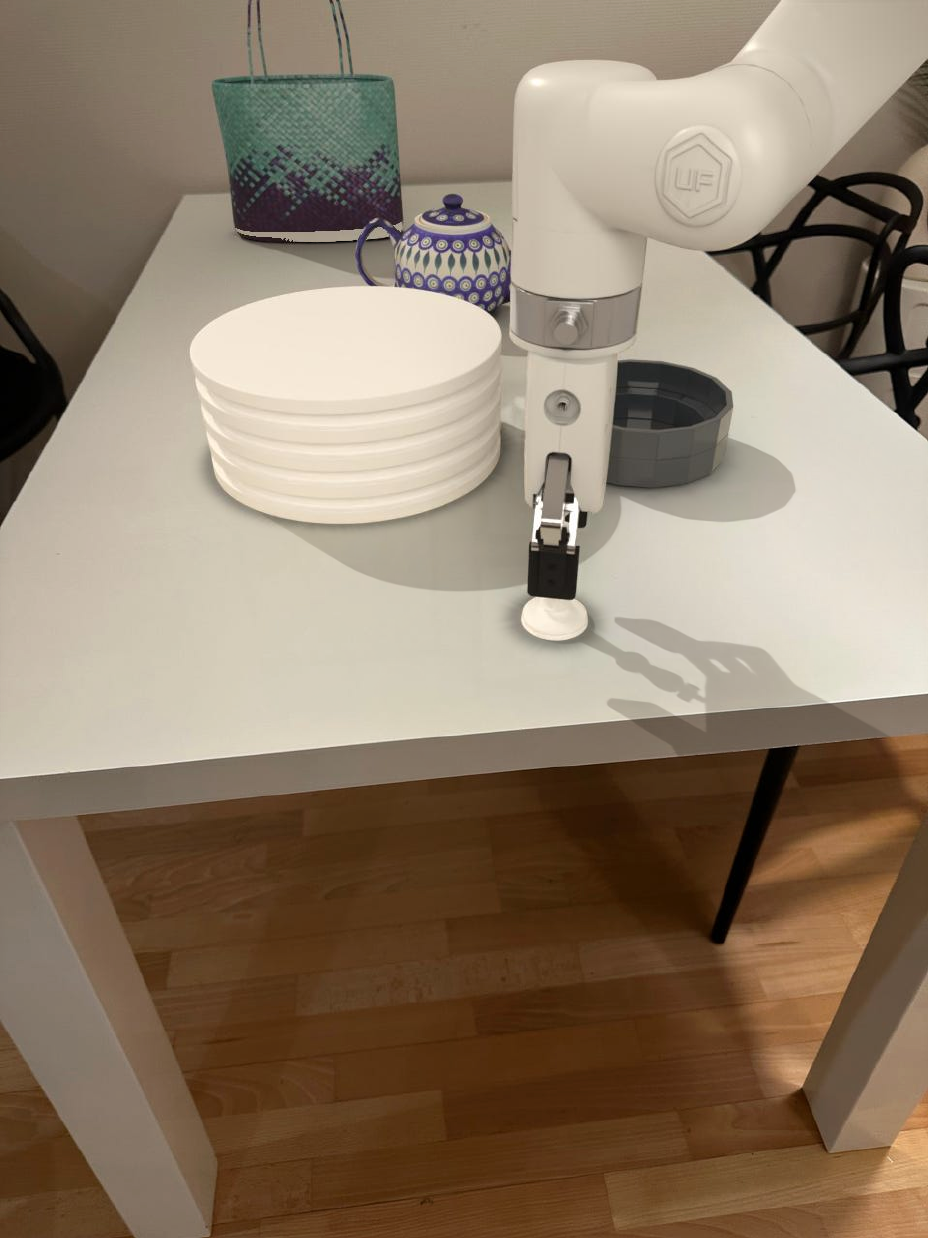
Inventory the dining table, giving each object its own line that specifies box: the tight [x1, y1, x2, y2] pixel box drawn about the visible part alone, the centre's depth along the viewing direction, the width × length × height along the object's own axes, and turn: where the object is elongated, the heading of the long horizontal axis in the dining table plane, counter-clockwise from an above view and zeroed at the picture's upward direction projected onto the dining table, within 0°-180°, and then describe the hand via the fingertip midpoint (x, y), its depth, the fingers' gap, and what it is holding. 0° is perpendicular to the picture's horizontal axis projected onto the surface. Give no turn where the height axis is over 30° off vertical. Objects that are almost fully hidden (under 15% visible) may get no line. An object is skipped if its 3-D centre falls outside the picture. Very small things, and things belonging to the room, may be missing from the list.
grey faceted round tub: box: [606, 358, 734, 489], centre depth 85 cm, size 16×16×6 cm
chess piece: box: [520, 513, 589, 641], centre depth 63 cm, size 5×5×10 cm
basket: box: [211, 0, 404, 243], centre depth 138 cm, size 28×12×40 cm, turn 88°
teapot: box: [354, 193, 511, 315], centre depth 114 cm, size 25×15×15 cm, turn 85°
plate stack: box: [189, 285, 503, 525], centre depth 85 cm, size 28×28×12 cm
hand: (558, 557), depth 63 cm, fingers open, 8 cm apart
